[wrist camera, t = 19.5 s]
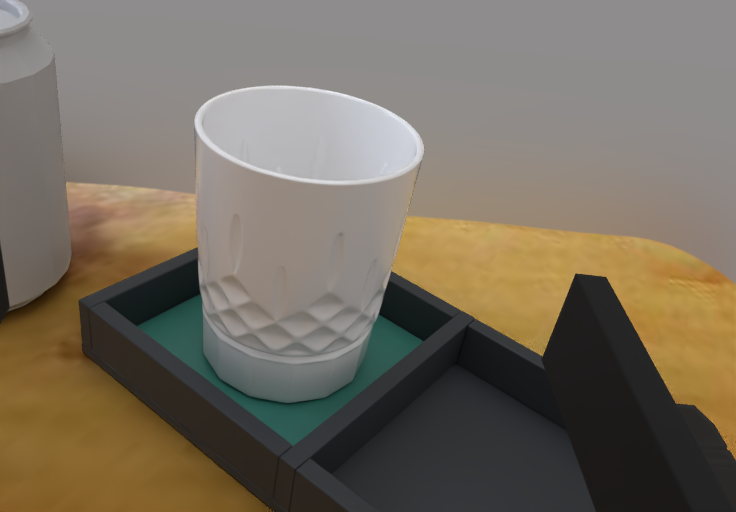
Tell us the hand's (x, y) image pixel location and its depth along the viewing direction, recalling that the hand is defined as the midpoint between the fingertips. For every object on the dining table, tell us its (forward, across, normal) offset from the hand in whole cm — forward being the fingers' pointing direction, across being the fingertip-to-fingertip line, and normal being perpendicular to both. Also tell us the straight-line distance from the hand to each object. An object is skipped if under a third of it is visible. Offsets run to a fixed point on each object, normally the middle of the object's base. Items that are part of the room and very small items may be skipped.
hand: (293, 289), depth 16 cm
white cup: (+9, 0, -10) cm, 14 cm away
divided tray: (+6, +4, -11) cm, 13 cm away
